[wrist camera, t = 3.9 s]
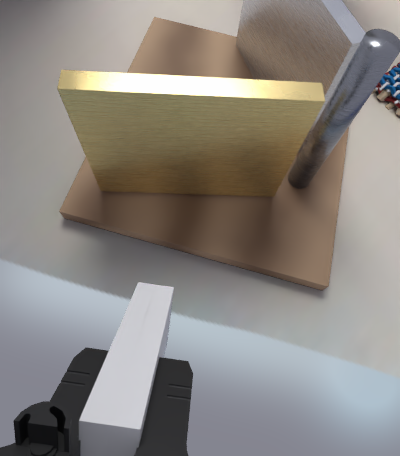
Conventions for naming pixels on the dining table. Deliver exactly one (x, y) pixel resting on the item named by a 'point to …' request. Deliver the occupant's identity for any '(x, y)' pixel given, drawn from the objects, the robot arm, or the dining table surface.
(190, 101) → the panel
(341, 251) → the dining table surface
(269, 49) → the steel leaf and pin
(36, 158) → the dining table surface
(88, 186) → the walnut board
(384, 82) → the woven mat
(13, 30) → the dining table surface
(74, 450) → the robot arm
